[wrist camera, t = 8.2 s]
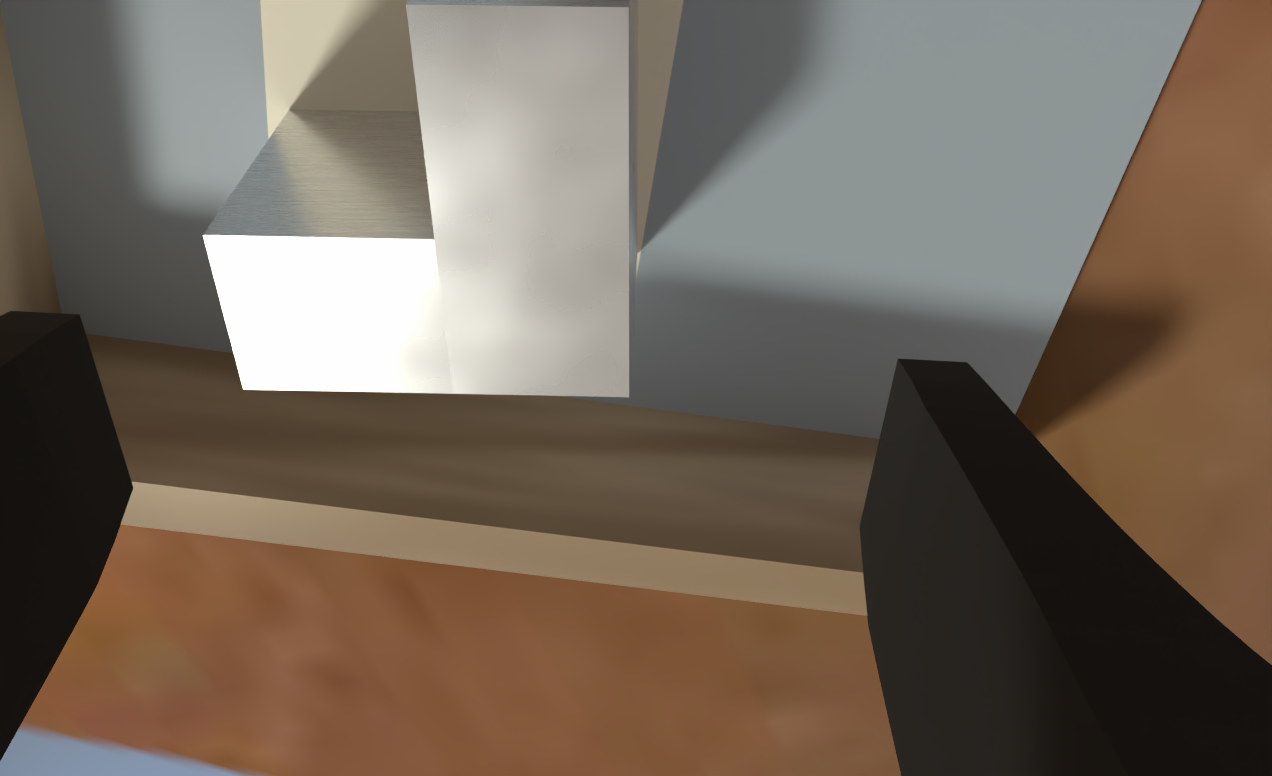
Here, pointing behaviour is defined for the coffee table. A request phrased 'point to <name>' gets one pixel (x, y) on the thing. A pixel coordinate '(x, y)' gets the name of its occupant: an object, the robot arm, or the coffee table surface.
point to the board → (655, 173)
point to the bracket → (450, 217)
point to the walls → (461, 462)
